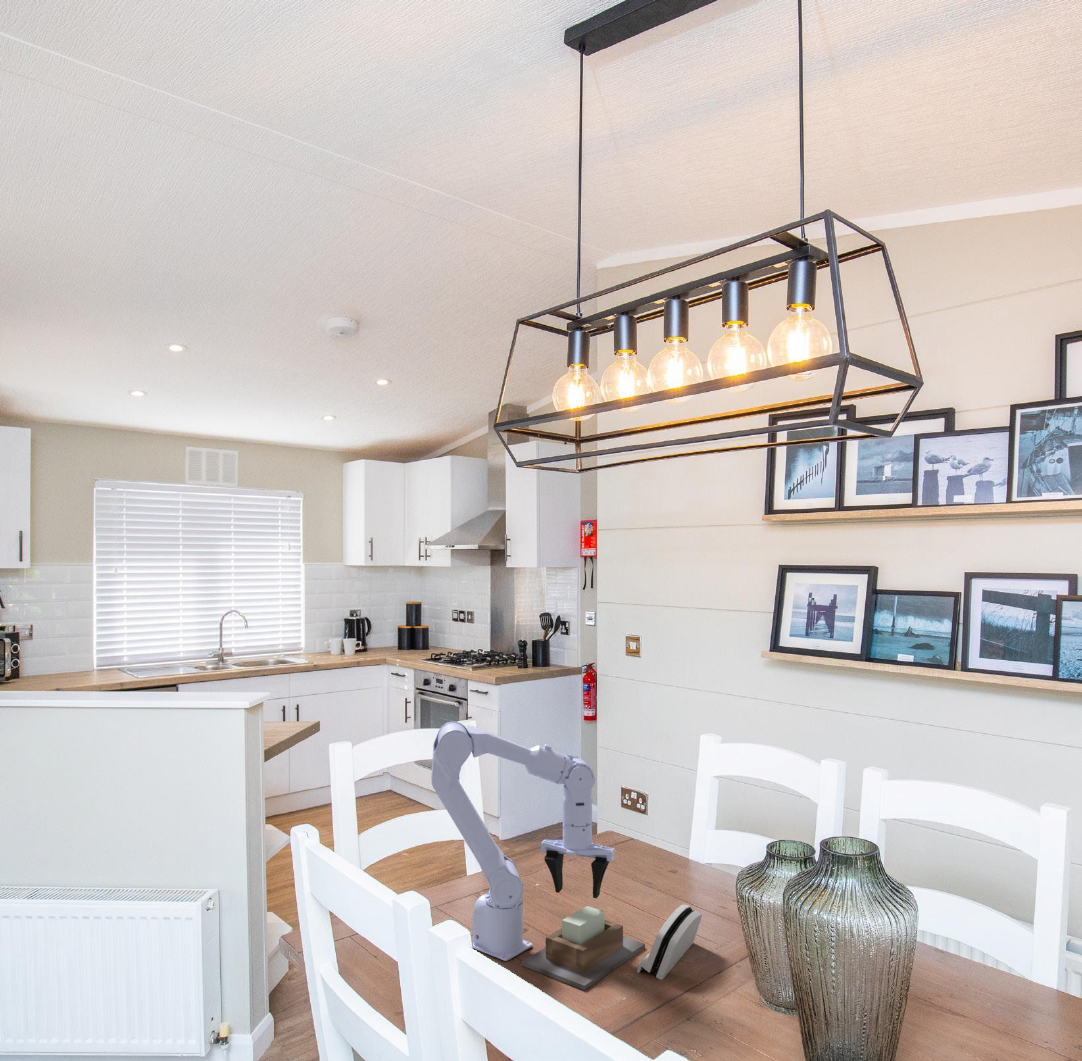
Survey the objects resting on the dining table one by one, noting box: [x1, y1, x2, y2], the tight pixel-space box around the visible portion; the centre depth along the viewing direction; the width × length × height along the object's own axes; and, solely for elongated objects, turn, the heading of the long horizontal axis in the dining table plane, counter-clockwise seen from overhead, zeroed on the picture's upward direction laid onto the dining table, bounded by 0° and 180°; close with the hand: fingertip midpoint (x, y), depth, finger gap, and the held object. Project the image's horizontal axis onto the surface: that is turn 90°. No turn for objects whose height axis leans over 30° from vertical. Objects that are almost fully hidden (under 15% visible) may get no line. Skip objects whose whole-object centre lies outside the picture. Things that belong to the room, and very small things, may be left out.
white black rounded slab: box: [636, 904, 703, 980], centre depth 149 cm, size 17×5×10 cm, turn 150°
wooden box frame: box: [521, 919, 646, 991], centre depth 150 cm, size 14×20×5 cm
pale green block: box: [561, 905, 605, 945], centre depth 149 cm, size 4×8×6 cm, turn 142°
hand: (577, 893), depth 155 cm, fingers open, 7 cm apart
